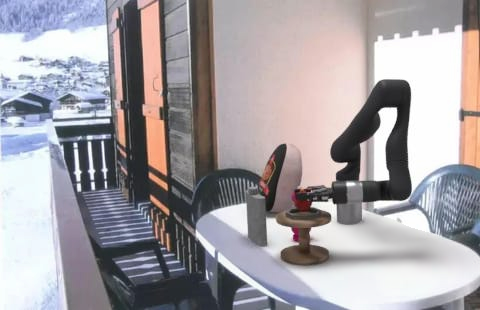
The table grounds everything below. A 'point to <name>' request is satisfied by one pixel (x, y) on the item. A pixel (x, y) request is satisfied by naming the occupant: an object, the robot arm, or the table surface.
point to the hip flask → (256, 217)
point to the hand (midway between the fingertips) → (294, 194)
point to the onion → (302, 203)
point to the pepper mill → (295, 230)
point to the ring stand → (304, 235)
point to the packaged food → (281, 178)
